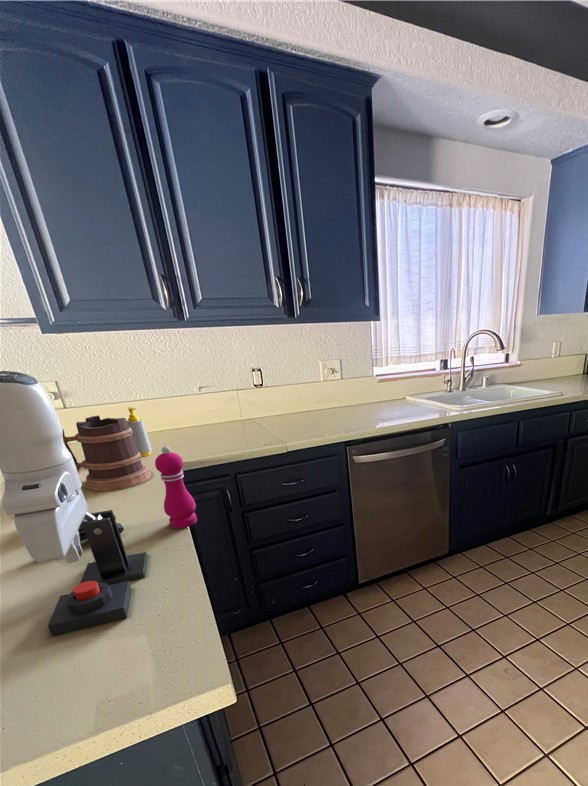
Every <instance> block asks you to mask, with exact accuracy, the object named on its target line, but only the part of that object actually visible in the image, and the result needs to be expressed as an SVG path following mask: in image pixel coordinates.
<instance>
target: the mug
mask: <svg viewBox="0 0 588 786" xmlns="http://www.w3.org/2000/svg"><path fill="white" fill-rule="evenodd" d="M127 421H128V419H126V417H118V418H117V417H116V418H115V417H105V418H102V419H101V417H100V415H99V414H98V415H91V416H88V417H86V418H85V419H84V421H76V423H75V426H76V429H77V433H76V434H74V435H73V436H66V435H65V430H64V429H63V428H62V430H63V441H64V444H65V446H66V448H67V449H68V450H69V452H70V453H71V455H72V457H73V460H74V463H75V466H76V468H77V471H78V473H79V471H80V469H81V468H83V469H87V471H88V474H87V475H86V477H85V480H86V483H85V487H86V489H87V490H90V491H93V492H109V491H118V490H123V489H127V488H131V487H135V486H138V485H140V484H143V483H144V482H146V481H148V480H149V479H150V478H151V477H152V473H151V472H150V471H149V469H148V466H147V465H145V464H143V463H142V461H141V459H142V457H141V454H140V453H139V452H138V451H137V449H136V446H135V443H134V440H133V437H132V433H133V432H132V429H131V428H130V427H129V426H128V423H127ZM75 441H76V442H78V443H80V444H81V448H82V452H83V456H84V460H82V461H81V462H78V460H77V459H76V456H75V454H74V453H73V451H72V449H71V447H70V445H69V444H68V443H70V442H75Z"/></svg>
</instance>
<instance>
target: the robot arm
mask: <svg viewBox="0 0 588 786" xmlns="http://www.w3.org/2000/svg"><path fill="white" fill-rule="evenodd" d="M62 429H63V426H62V425H61V421H60V419H59V416H58V413H57V411H56V408H55V406H54V404H53V402H52V399H51V398H50V395H49V394H48V392H47V391H46V389H45V388H44V386H43V385H42V384H41V382H39V380H38V379H37V378H36V377H33V376H31V375H29V374H26V373H23V372H18V371H9V370H1V371H0V472H1V474H2V477H3V479H4V482H3V484H4V491H3V496H2V499H1V506H2V509H3V512H4V513H5V515H6V516H13V524H14V526H15V528H16V531H17V533H18V536H19V537H20V540H21V541H22V543H23V545H24V548H25V549H26V551H27V553H28V554H29V556H30V557H31V559H33V561H35V562H36V563H39V564H40V563H41V564H42V563H49V562H53V561H59V560H62V559H64V558H65V561H66V563H69V564H72V563H76V562H79V561H80V559H81V556H82V554H83V551H84V550H83V548H82V546H81V542H80V538H79V531H78V529H79V527H80V525H81V523H82V520H83V518H84V516H85V514H86V512H88V503H87V500H86V498H85V495H84V492H83V490H82V488H81V487H83V483H82V479H81V477H80V473H79V472H78V471H77V468H76V466H75V463H74V460H73V457H72V455H71V453H70V452H69V450H68V449H67V448H66V446H65V444H64V441H63V430H64V429H63V430H62Z"/></svg>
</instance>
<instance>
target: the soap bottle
mask: <svg viewBox="0 0 588 786" xmlns="http://www.w3.org/2000/svg"><path fill="white" fill-rule="evenodd" d="M126 409H128V412H129V413H130V414H129V415H128V418H127V423H128V426H129V427H130V428H131V429H132V432H133V433H132V437H133V440H134V443H135V446H136V449H137V451H138V452H139V453H140V454H141V458H142V457H147V456H150V455H151V454H152V451H153V448H152V445H151V441H150V438H149V436H148V435H149V434H148V432H147V430H146V425H145V423H144V419H141V418H139V416H137V415H136V413H134V411H135V410H137V408H136V407H132V406H127V407H126Z"/></svg>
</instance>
